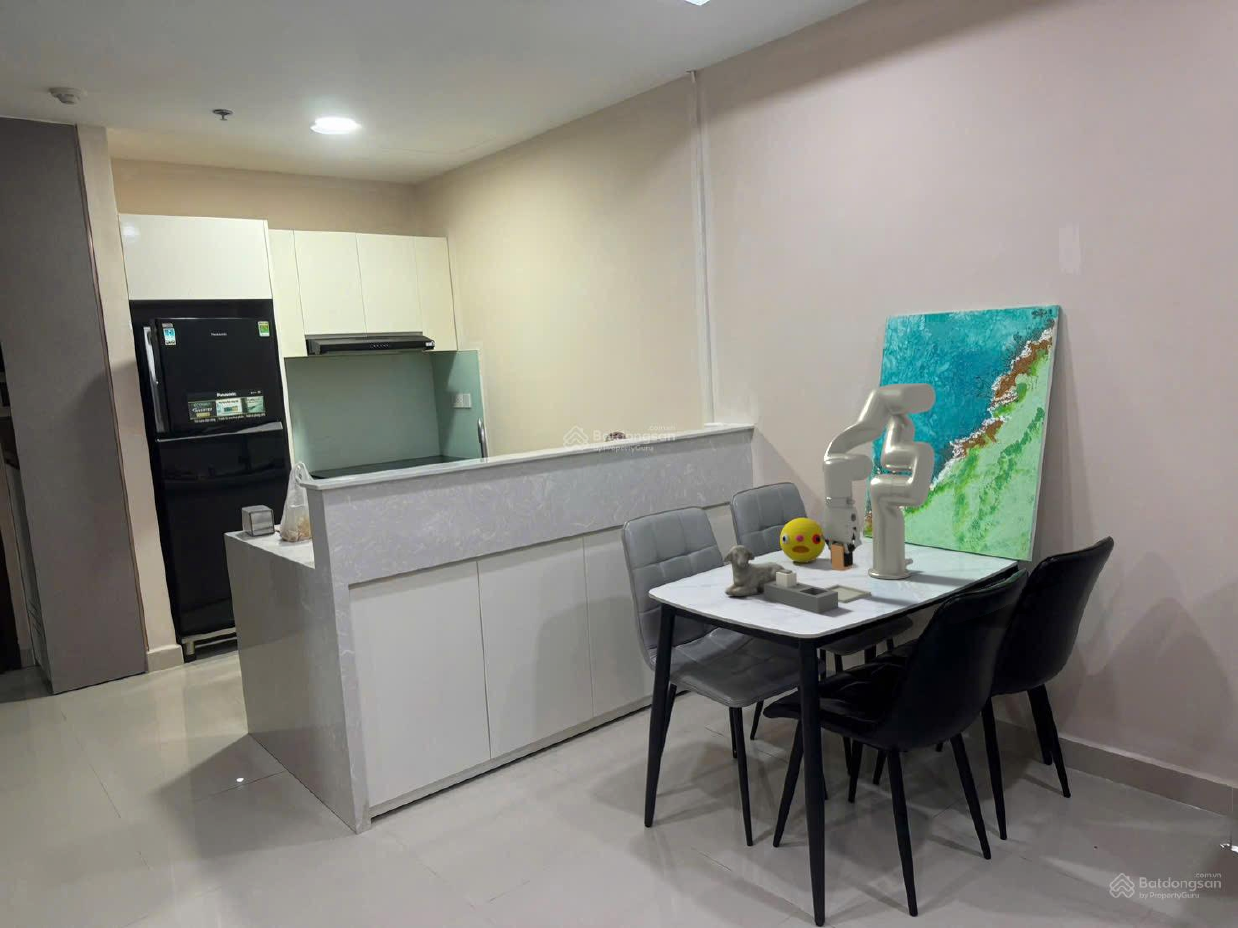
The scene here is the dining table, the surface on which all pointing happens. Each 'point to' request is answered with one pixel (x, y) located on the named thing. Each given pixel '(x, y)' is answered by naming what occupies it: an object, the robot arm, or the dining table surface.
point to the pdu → (799, 594)
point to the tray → (848, 593)
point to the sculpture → (749, 572)
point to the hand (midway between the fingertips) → (842, 563)
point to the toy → (802, 540)
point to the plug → (838, 556)
